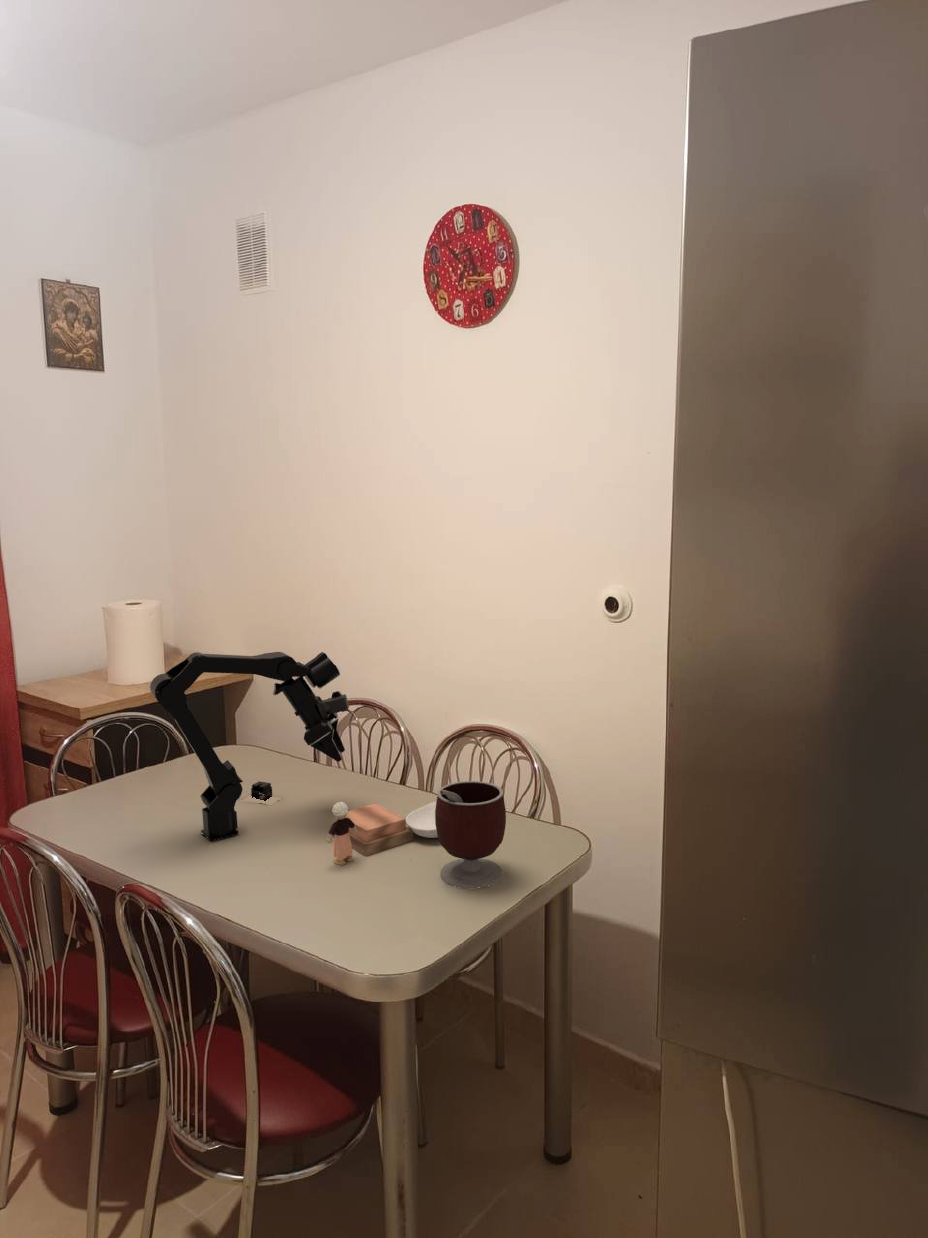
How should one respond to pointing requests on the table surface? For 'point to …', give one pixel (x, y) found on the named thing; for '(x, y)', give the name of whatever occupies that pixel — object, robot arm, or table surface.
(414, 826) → the spoon rest
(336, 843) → the grandmother figurine
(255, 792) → the black barn door light
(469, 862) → the mate gourd
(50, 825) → the table surface
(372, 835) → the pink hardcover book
